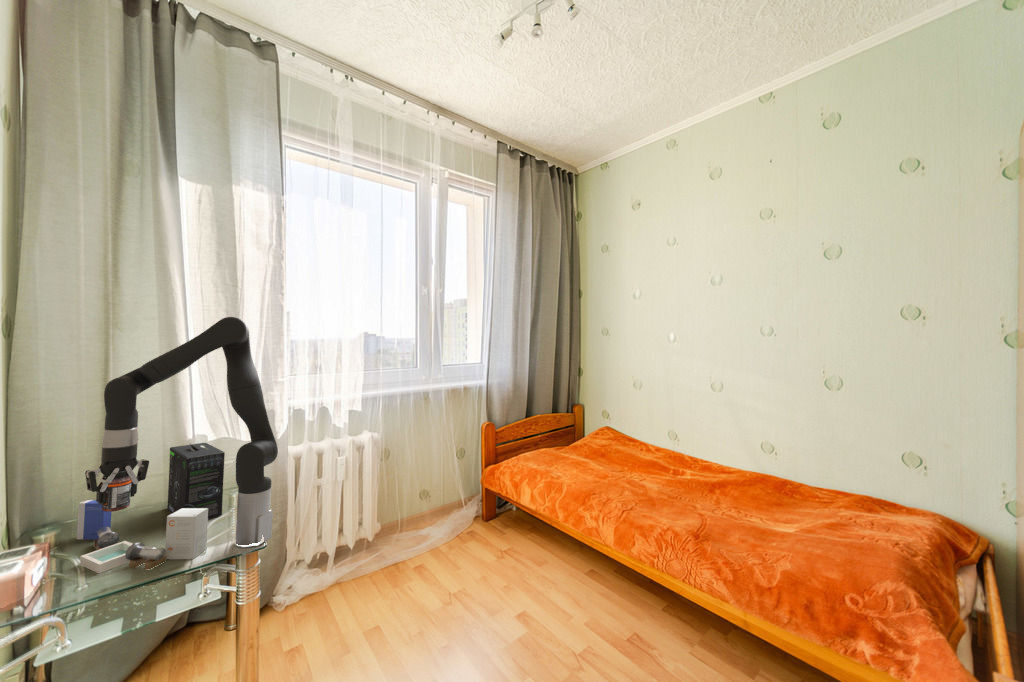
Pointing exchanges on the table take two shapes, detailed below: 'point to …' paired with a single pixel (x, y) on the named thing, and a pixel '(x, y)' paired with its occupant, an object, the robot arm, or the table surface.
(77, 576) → the table surface
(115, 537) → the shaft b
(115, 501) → the supplement bottle
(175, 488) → the headset box
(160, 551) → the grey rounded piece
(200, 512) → the small box
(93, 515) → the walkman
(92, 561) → the shallow white dish
